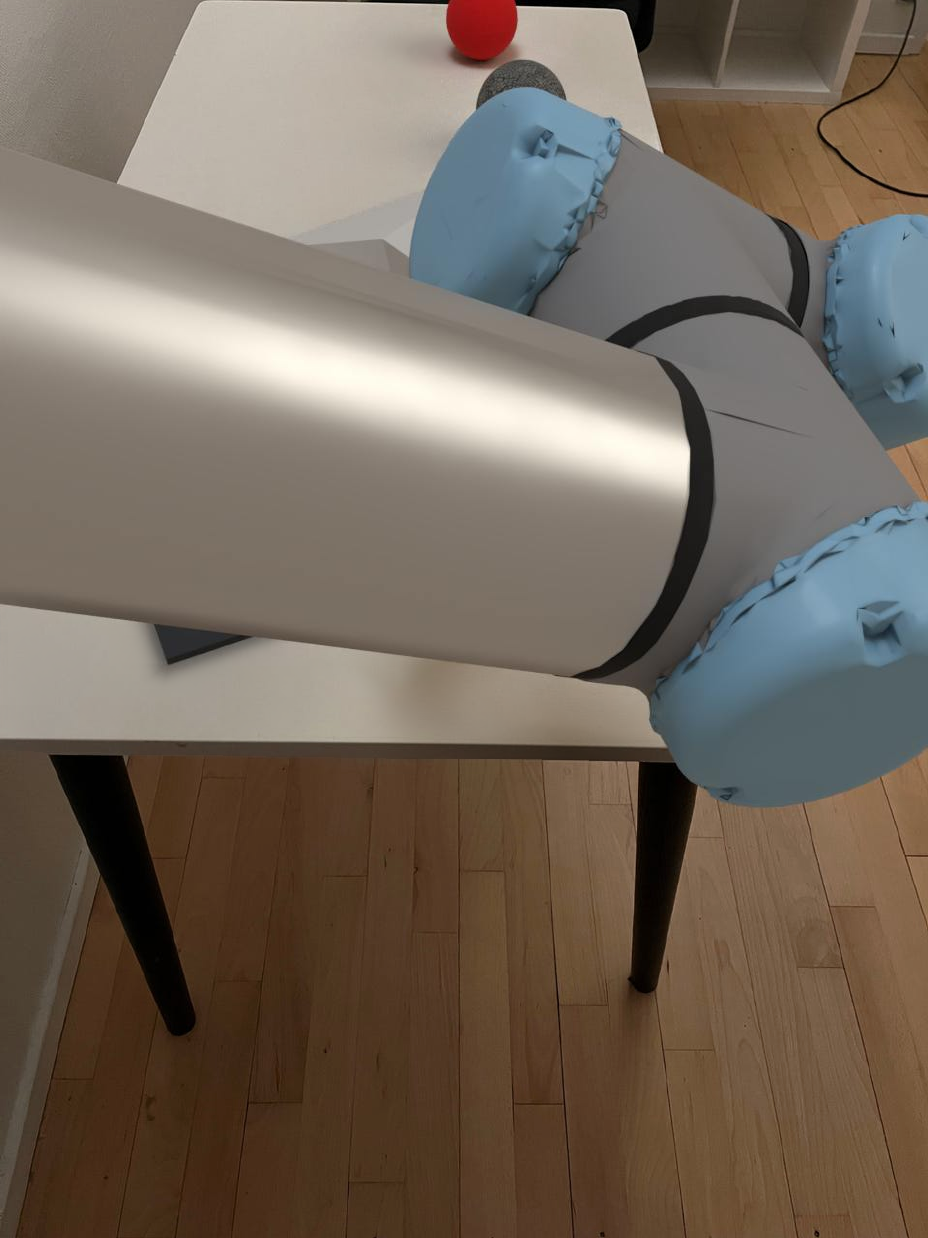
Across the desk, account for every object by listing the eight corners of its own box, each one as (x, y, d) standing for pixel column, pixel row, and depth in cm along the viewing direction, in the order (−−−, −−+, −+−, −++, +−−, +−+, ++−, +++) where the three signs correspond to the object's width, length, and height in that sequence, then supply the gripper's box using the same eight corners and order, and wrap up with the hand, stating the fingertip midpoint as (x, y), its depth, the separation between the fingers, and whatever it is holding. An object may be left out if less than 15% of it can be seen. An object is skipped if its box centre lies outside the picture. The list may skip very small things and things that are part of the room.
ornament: (485, 35, 140) (486, -50, 132) (530, 58, 135) (535, -28, 127) (431, 54, 136) (430, -33, 128) (477, 78, 132) (478, -9, 124)
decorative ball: (565, 178, 116) (573, 85, 109) (474, 176, 116) (475, 83, 109) (562, 134, 123) (569, 43, 115) (476, 133, 123) (477, 42, 115)
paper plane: (610, 200, 114) (615, 163, 110) (478, 339, 98) (479, 300, 95) (410, 139, 122) (408, 102, 118) (258, 258, 106) (252, 220, 103)
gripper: (560, 602, 44) (319, 641, 64) (765, 408, 52) (495, 495, 72) (466, 450, 42) (247, 538, 62) (693, 272, 50) (436, 400, 70)
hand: (380, 515), depth 67 cm, fingers closed on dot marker, 4 cm apart
